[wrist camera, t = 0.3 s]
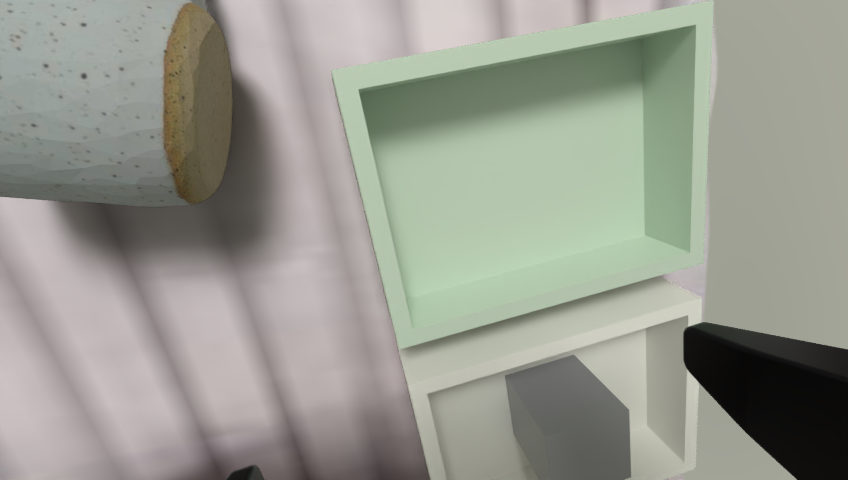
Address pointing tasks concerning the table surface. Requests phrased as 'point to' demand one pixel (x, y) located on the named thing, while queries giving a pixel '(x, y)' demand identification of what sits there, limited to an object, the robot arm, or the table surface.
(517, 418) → the stone block
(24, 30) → the ceramic mug
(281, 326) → the table surface
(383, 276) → the green bin
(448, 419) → the cream bin
